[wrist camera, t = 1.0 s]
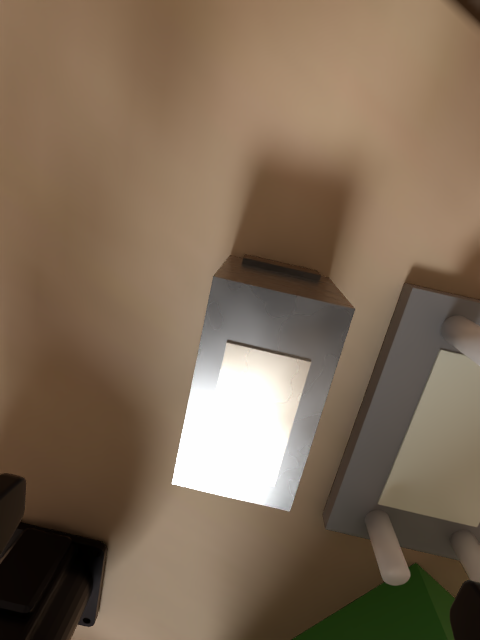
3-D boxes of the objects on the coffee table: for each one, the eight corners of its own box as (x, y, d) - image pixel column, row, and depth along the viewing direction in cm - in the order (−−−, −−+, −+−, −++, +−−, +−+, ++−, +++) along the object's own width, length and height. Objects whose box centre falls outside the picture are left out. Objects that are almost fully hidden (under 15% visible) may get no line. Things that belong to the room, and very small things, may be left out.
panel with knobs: (485, 552, 20) (535, 631, 17) (322, 514, 20) (334, 584, 17) (605, 329, 17) (706, 365, 13) (404, 282, 17) (444, 305, 13)
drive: (284, 428, 19) (289, 513, 14) (198, 408, 19) (171, 485, 14) (330, 271, 17) (358, 301, 12) (231, 249, 17) (214, 269, 12)
